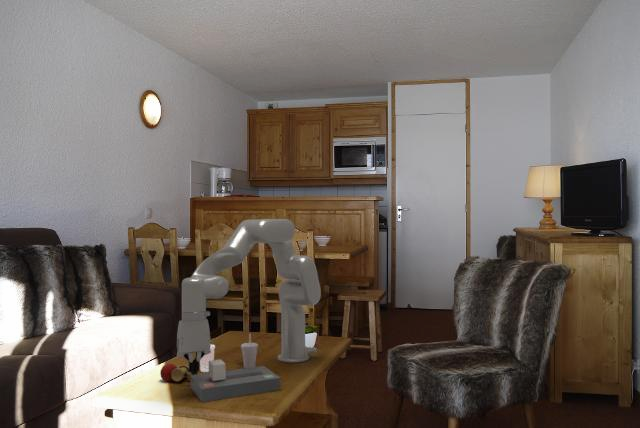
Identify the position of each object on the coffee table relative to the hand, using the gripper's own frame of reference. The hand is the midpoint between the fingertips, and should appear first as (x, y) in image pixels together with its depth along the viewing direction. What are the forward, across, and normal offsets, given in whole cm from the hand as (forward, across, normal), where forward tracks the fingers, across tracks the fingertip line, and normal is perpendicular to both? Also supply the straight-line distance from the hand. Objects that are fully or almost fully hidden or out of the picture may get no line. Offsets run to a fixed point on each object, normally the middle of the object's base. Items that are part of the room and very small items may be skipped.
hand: (193, 373), depth 175 cm
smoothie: (+7, -25, -18) cm, 31 cm away
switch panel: (+7, -14, -2) cm, 15 cm away
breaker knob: (+2, -8, 0) cm, 8 cm away
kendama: (+7, -1, -16) cm, 18 cm away
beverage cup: (+7, -11, -26) cm, 29 cm away
